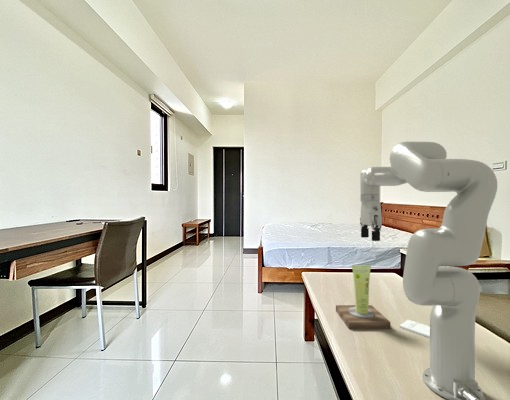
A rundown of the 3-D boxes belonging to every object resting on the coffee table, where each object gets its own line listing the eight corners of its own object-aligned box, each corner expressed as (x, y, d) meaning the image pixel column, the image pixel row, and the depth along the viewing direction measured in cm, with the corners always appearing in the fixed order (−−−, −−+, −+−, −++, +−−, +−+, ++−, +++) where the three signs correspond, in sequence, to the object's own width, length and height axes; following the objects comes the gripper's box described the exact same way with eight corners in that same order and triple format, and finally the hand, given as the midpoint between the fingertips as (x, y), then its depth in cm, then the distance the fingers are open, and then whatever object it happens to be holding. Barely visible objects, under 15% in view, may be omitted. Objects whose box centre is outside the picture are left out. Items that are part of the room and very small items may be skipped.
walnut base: (390, 328, 100) (390, 320, 100) (348, 328, 100) (348, 320, 100) (371, 310, 116) (371, 304, 116) (335, 310, 116) (335, 304, 116)
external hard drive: (437, 343, 91) (399, 329, 100) (444, 335, 96) (408, 322, 106) (437, 338, 91) (399, 324, 100) (444, 330, 96) (408, 318, 106)
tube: (363, 316, 103) (363, 267, 103) (352, 311, 108) (351, 264, 107) (371, 312, 107) (370, 265, 107) (359, 308, 111) (359, 262, 111)
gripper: (390, 198, 101) (390, 242, 101) (369, 198, 119) (369, 236, 119) (371, 198, 101) (371, 242, 101) (352, 198, 118) (353, 236, 118)
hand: (370, 239), depth 110 cm, fingers open, 9 cm apart
